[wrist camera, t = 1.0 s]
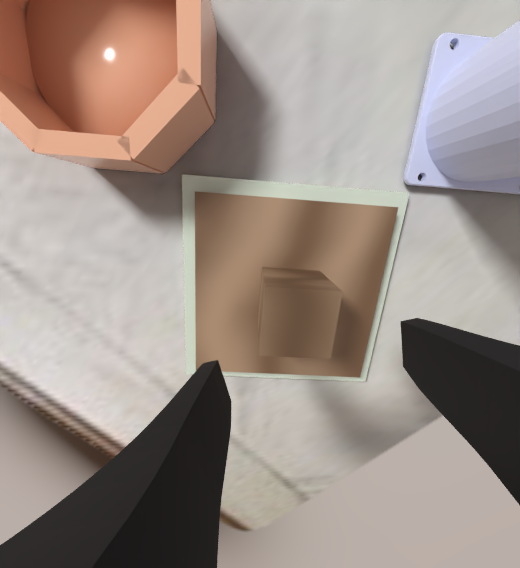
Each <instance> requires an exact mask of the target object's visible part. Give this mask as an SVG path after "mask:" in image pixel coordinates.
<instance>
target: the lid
mask: <svg viewBox="0 0 520 568" xmlns="http://www.w3.org/2000/svg"><path fill="white" fill-rule="evenodd" d="M397 212H398V207H388V206H375V205H363V204H350V203H337V202H324V201H311V200H299V199H286V198H273V197H260V196H247V195H235V194H222V193H209V192H196V191H195V324H196V370H197V369H198V368H199V367H200V366H201V365H202V364H203V363H206V362H210V361H215V360H218V361H219V364H220V367H221V371H222V372H246V373H269V374H292V375H315V376H339V377H360V375H361V371H362V367H363V362H364V358H365V353H366V349H367V344H368V340H369V336H370V331H371V327H372V322H373V318H374V313H375V309H376V305H377V300H378V296H379V291H380V287H381V282H382V278H383V274H384V269H385V265H386V260H387V256H388V251H389V247H390V243H391V238H392V234H393V229H394V225H395V220H396V216H397Z"/></svg>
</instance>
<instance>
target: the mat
mask: <svg viewBox="0 0 520 568" xmlns="http://www.w3.org/2000/svg"><path fill="white" fill-rule="evenodd" d="M195 191H196V192H209V193H222V194H235V195H247V196H260V197H273V198H286V199H299V200H311V201H324V202H337V203H350V204H363V205H375V206H388V207H398V212H397V216H396V220H395V225H394V229H393V234H392V238H391V243H390V247H389V251H388V256H387V260H386V265H385V269H384V274H383V278H382V282H381V287H380V291H379V296H378V300H377V305H376V309H375V313H374V318H373V322H372V327H371V331H370V336H369V340H368V344H367V349H366V353H365V358H364V362H363V367H362V371H361V375H360V377H339V376H315V375H292V374H269V373H246V372H222V374H223V376H242V377H266V378H290V379H314V380H337V381H361V382H365V381H366V377H367V373H368V368H369V364H370V360H371V356H372V351H373V347H374V343H375V339H376V334H377V330H378V326H379V321H380V317H381V313H382V309H383V304H384V300H385V296H386V292H387V287H388V283H389V279H390V275H391V270H392V266H393V262H394V258H395V253H396V249H397V245H398V241H399V236H400V232H401V228H402V223H403V219H404V215H405V211H406V206H407V202H408V198H409V194H410V193H405V192H393V191H381V190H369V189H356V188H344V187H332V186H319V185H307V184H295V183H282V182H270V181H258V180H245V179H233V178H221V177H208V176H196V175H184V174H182V214H183V266H184V318H185V370H186V374H194V373H195V372H196V324H195Z"/></svg>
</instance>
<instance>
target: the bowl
mask: <svg viewBox="0 0 520 568" xmlns="http://www.w3.org/2000/svg"><path fill="white" fill-rule="evenodd" d="M216 59H217V29H216V24H215V19H214V14H213V9H212V4H211V0H0V121H1V122H2V123H3V124H4V125H5V126H6V127H7V128H8V129H9V130H10V131H11V132H12V133H13V134H15V135H16V136H17V137H18V138H19V139H20V140H21V141H22V142H23V143H24V144H25V145H26V146H27V147H28V148H29V149H30V150H31V151H33V152H35V153H38V154H42V155H46V156H50V157H54V158H58V159H61V160H65V161H69V162H73V163H77V164H80V165H84V166H88V167H92V168H99V169H111V170H124V171H136V172H148V173H161V174H164V172H165V173H166V172H167V171H168V170H169V169H170V168H171V167H172V166H173V165H174V164H175V163H176V162H177V161H178V160H179V159H180V158H181V157H182V156H183V155H184V154H185V153H186V152H187V151H188V150H189V149H190V148H191V147H192V146H193V144H194V143H195V142H196V141H197V140H198V139H199V138H200V137H201V136H202V135H203V134H204V133H205V132H206V131H207V130H208V129H209V128H210V127H211V126H212V125H213V124H214V120H215V119H216Z"/></svg>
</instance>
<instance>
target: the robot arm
mask: <svg viewBox="0 0 520 568" xmlns="http://www.w3.org/2000/svg"><path fill="white" fill-rule="evenodd" d="M450 43H452V44H453V50H452V49H451V48H450ZM419 174H421V175H422V179H421V180H420V181H419V180H418V175H419ZM404 182H405V183H406V184H407V185H413V186H425V187H438V188H450V189H462V190H474V191H486V192H498V193H510V194H520V188H519V186H520V20H519V21H518V22H516V23H515V24H514V25H512V26H511V27H509V28H508V29H507V30H505V31H504V32H502V33H501V34H499V35H498V36H497V37H495V38H491V37H483V36H474V35H465V34H457V33H444V34H442V35H441V36H440V37H438V38H437V40H436V41H435V42H434V45H433V49H432V53H431V57H430V62H429V66H428V71H427V75H426V80H425V84H424V89H423V93H422V98H421V102H420V107H419V111H418V116H417V120H416V124H415V129H414V133H413V138H412V142H411V147H410V151H409V156H408V160H407V165H406V169H405V174H404ZM401 334H402V353H403V367H404V368H405V370H406V371H407V373H408V374H409V375H410V377H411V378H412V380H413V381H414V382H415V384H416V385H417V386H418V388H419V389H420V390H421V392H422V393H423V394H424V395H425V396H426V397H427V398H428V399H429V400H430V401H431V403H432V404H433V405H434V406H435V407H436V408H437V409H438V410H439V411H440V412H441V413H442V415H443V416H444V417H445V418H446V419H447V420H448V421H449V422H450V423H451V424H452V425H453V426H454V427H455V429H456V430H457V431H458V432H459V433H460V434H461V435H462V436H463V437H464V438H465V439H466V440H467V441H468V443H469V444H470V445H471V446H472V447H473V448H474V449H475V450H476V451H477V453H478V454H479V455H480V456H481V457H482V458H483V459H484V461H485V462H486V463H487V464H488V465H489V467H490V468H491V469H492V470H493V472H494V473H495V474H496V475H497V477H498V478H499V479H500V480H501V482H502V483H503V484H504V486H505V487H506V488H507V489H508V491H509V492H510V493H511V494H512V496H513V497H514V498H515V500H516V501H517V502H518V503H519V505H520V346H519V345H514V344H510V343H506V342H503V341H499V340H495V339H492V338H488V337H484V336H481V335H477V334H474V333H470V332H467V331H463V330H460V329H456V328H453V327H450V326H446V325H443V324H439V323H435V322H432V321H428V320H424V319H419V318H415V319H410V320H406V321H401ZM230 430H231V399H230V396H229V393H228V390H227V386H226V383H225V380H224V377H223V374H222V371H221V367H220V364H219V361H218V360H215V361H210V362H206V363H203V364H202V365H201V366H200V367H199V368H198V369H197V370H196V372H195V373H194V374H193V375H192V376H191V378H190V379H189V380H188V381H187V382H186V384H185V385H184V386H183V387H182V388H181V389H180V391H179V392H178V393H177V394H176V395H175V397H174V398H173V399H172V400H171V401H170V402H169V403H168V404H167V406H166V407H165V408H164V409H163V410H162V411H161V412H160V413H159V414H158V415H157V416H156V417H155V419H154V420H153V421H152V422H151V423H150V424H149V425H148V426H147V427H146V428H145V429H144V430H143V431H142V432H141V433H140V434H139V435H138V436H137V437H136V438H135V439H134V440H133V441H132V442H131V443H129V444H128V445H127V446H126V447H125V448H124V449H123V450H122V451H121V452H120V453H119V454H118V455H116V456H115V457H114V458H113V459H112V460H111V461H110V462H108V463H107V464H106V465H105V466H104V467H102V468H101V469H100V470H99V471H98V472H96V473H95V474H94V475H93V476H92V477H91V478H89V479H88V480H87V481H86V482H85V483H83V484H82V485H81V486H80V487H78V488H77V489H76V490H75V491H74V492H72V493H71V494H70V495H68V496H67V497H66V498H64V499H63V500H62V501H61V502H59V503H58V504H57V505H55V506H54V507H53V508H51V509H50V510H49V511H47V512H46V513H45V514H43V515H42V516H41V517H39V518H38V519H37V520H35V521H34V522H33V523H31V524H30V525H28V526H27V527H26V528H24V529H23V530H21V531H20V532H19V533H17V534H16V535H15V536H13V537H12V538H10V539H9V540H7V541H6V542H4V543H3V544H1V545H0V568H217V553H218V535H219V517H220V506H221V496H222V489H223V481H224V474H225V467H226V460H227V453H228V445H229V438H230Z"/></svg>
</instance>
